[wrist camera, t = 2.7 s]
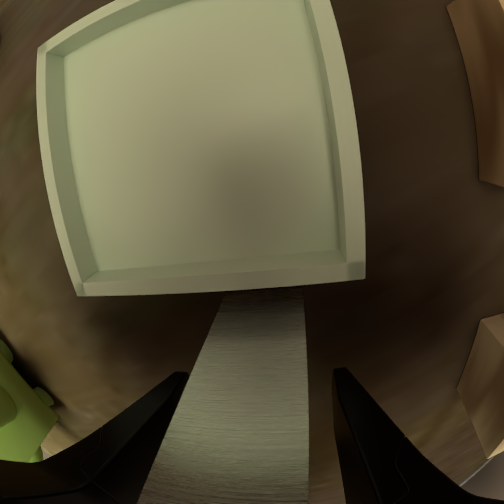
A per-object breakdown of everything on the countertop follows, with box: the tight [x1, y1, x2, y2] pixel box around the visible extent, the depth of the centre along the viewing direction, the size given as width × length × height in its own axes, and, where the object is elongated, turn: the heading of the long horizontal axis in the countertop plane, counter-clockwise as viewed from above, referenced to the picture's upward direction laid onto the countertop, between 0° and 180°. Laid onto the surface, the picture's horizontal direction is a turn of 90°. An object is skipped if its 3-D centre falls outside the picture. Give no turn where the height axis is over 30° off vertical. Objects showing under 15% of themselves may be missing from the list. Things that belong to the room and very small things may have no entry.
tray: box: [36, 0, 366, 296], centre depth 8 cm, size 11×11×2 cm
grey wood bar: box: [137, 287, 309, 504], centre depth 7 cm, size 3×3×9 cm
